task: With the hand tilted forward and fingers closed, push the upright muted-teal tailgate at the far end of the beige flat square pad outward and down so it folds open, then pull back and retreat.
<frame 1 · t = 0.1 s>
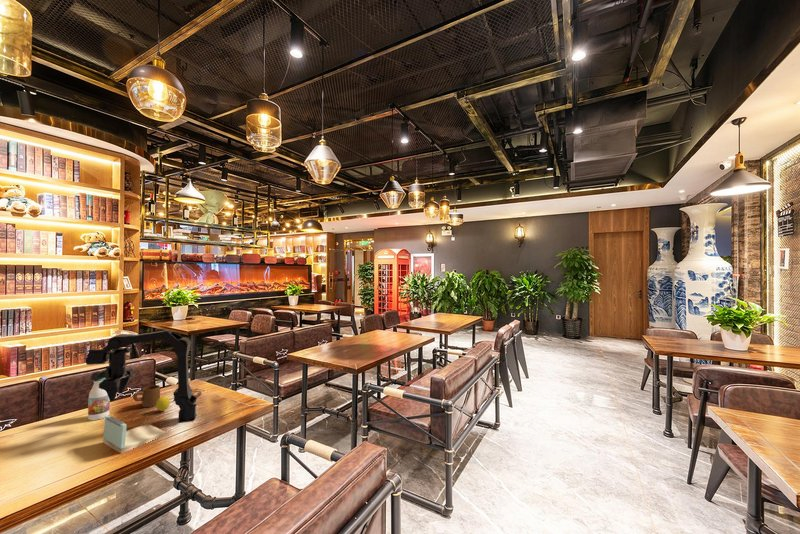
hand: (116, 396, 145), 15 cm above the table, tool pointing down, fingers open, 9 cm apart
pretzel: (189, 397, 183), on the table
mug: (146, 406, 169), on the table
lemon: (162, 411, 164), on the table
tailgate: (114, 431, 131), point 6 cm above the table, hinge at -3.0°
beige flat square pad: (135, 439, 137), on the table
milk bottle: (98, 417, 156), on the table
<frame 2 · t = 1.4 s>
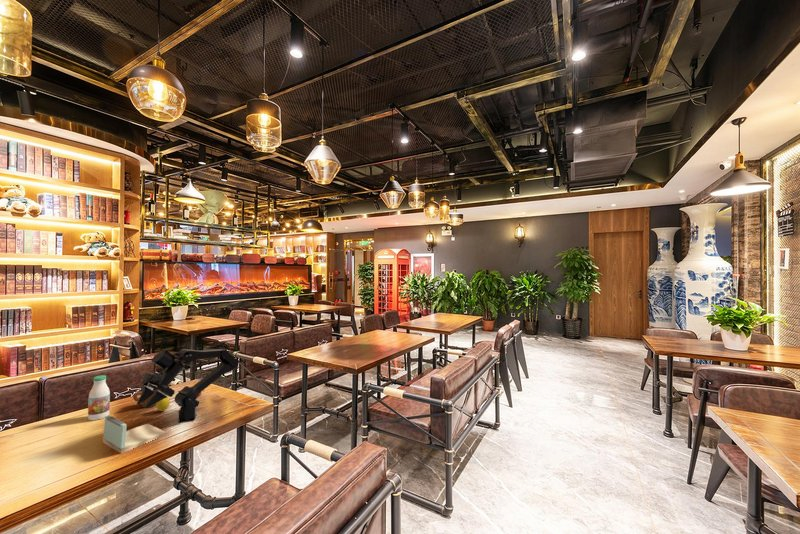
hand: (141, 405, 139), 13 cm above the table, tool tilted 45°, fingers open, 7 cm apart
nothing on the table moved.
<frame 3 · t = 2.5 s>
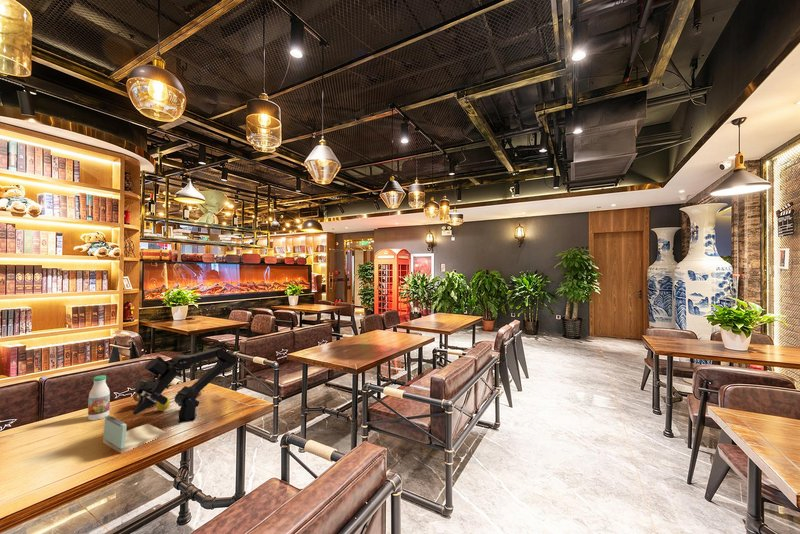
hand: (133, 414, 136), 11 cm above the table, tool tilted 45°, fingers closed
nothing on the table moved.
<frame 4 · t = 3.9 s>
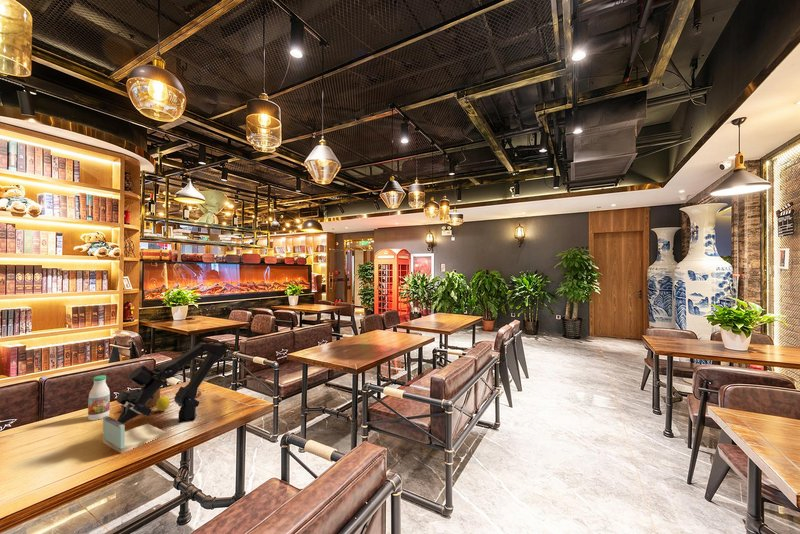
hand: (116, 426, 131), 8 cm above the table, tool tilted 45°, fingers closed, pressing on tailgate
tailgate: (113, 431, 130), point 6 cm above the table, hinge at 1.5°, touching gripper
everything else where it was.
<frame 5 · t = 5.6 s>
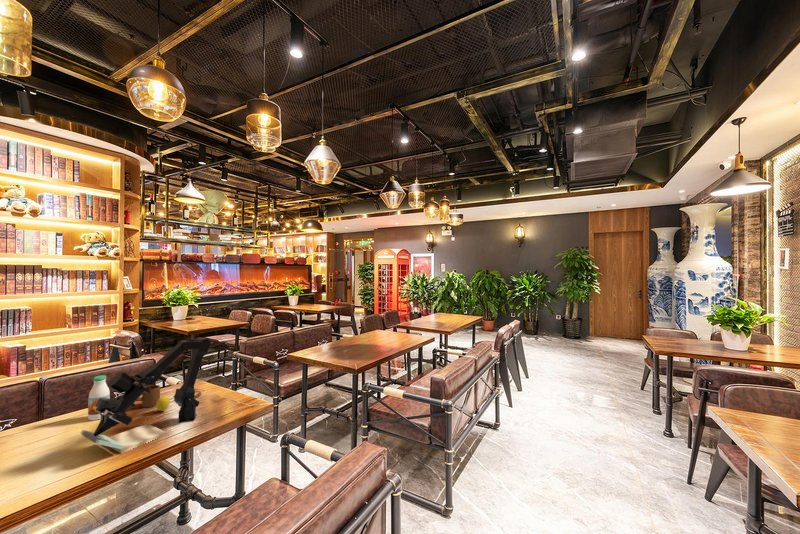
hand: (94, 435, 125), 7 cm above the table, tool tilted 45°, fingers closed, pressing on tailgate
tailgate: (101, 439, 127), point 5 cm above the table, hinge at 53.0°, touching gripper
everything else where it was.
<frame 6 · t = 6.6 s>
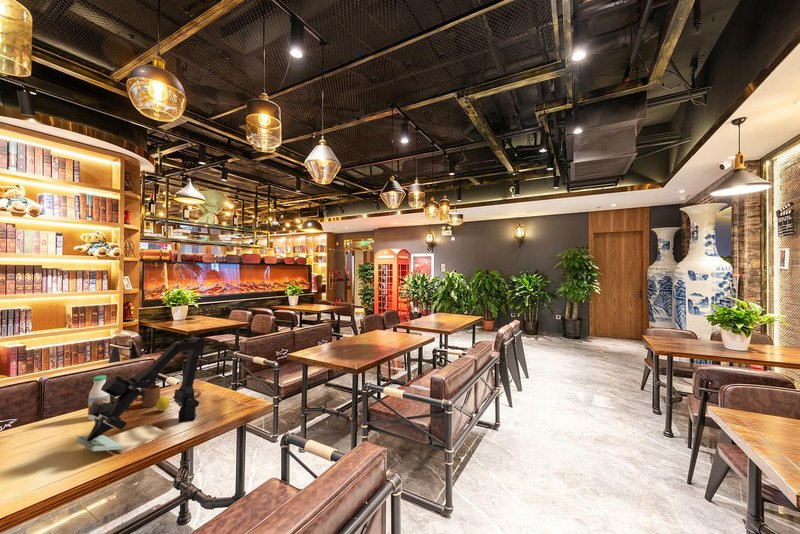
hand: (88, 440, 123), 6 cm above the table, tool tilted 45°, fingers closed
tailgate: (99, 442, 126), point 4 cm above the table, hinge at 68.2°
everything else where it was.
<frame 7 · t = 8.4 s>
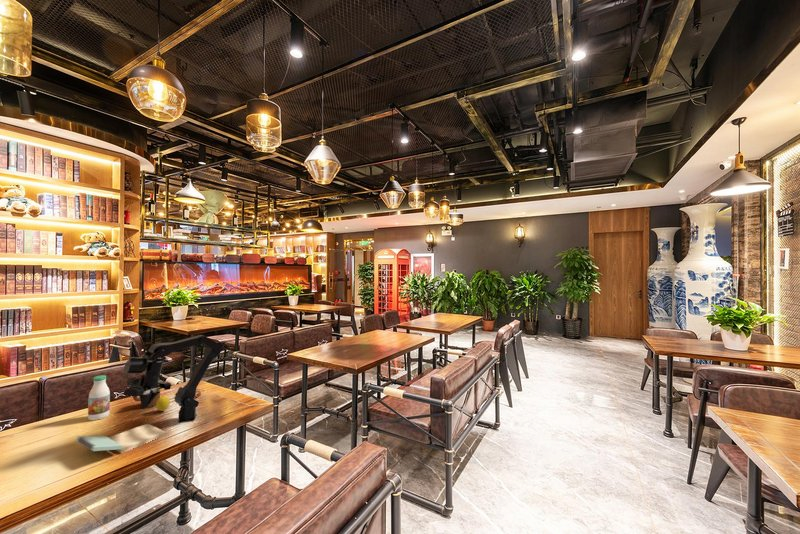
hand: (143, 408, 141), 11 cm above the table, tool pointing down, fingers closed
nothing on the table moved.
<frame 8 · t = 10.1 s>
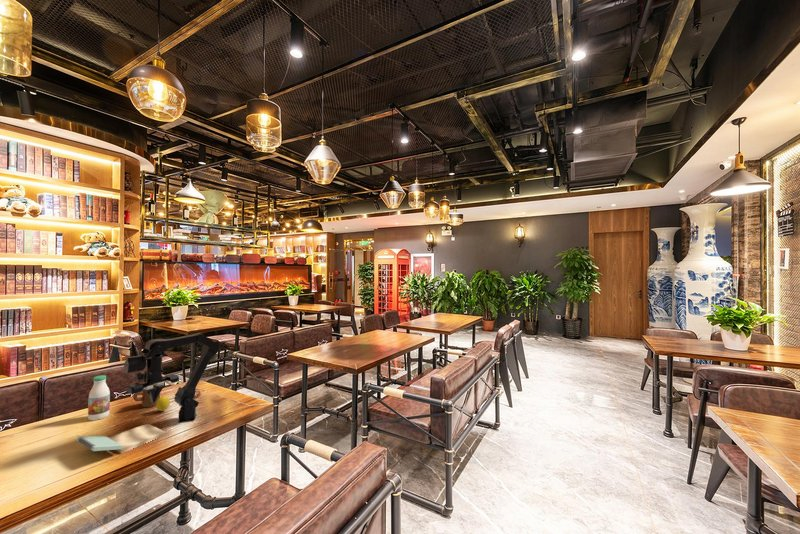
hand: (153, 402, 144), 13 cm above the table, tool pointing down, fingers closed
nothing on the table moved.
at the end: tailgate at +68° (first picture: -3°) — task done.
